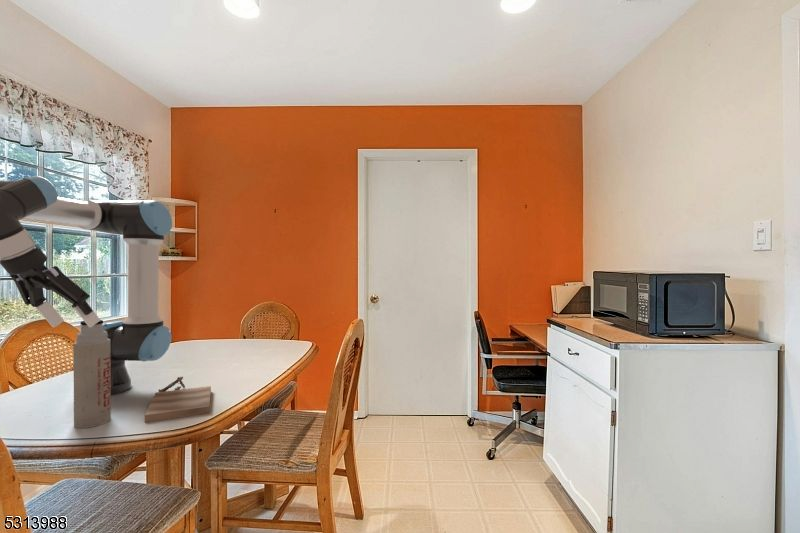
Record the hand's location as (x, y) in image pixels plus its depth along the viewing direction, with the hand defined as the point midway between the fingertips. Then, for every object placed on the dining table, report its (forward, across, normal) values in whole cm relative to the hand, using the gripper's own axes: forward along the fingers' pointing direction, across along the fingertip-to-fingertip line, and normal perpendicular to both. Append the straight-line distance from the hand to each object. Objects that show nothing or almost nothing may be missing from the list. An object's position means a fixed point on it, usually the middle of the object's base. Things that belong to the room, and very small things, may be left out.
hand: (76, 324), depth 99 cm
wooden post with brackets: (+41, -7, +12) cm, 44 cm away
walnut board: (+37, +7, +5) cm, 38 cm away
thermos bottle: (+27, -6, -10) cm, 29 cm away
